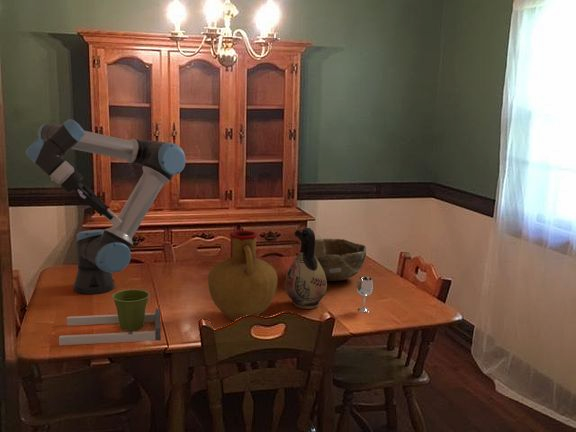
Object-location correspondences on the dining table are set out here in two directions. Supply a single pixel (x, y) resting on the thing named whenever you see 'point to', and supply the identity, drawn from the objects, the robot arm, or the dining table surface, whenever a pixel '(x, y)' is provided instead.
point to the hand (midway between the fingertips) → (119, 224)
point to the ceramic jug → (306, 274)
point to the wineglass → (364, 290)
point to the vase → (242, 279)
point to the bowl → (339, 258)
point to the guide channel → (110, 337)
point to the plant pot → (131, 308)
